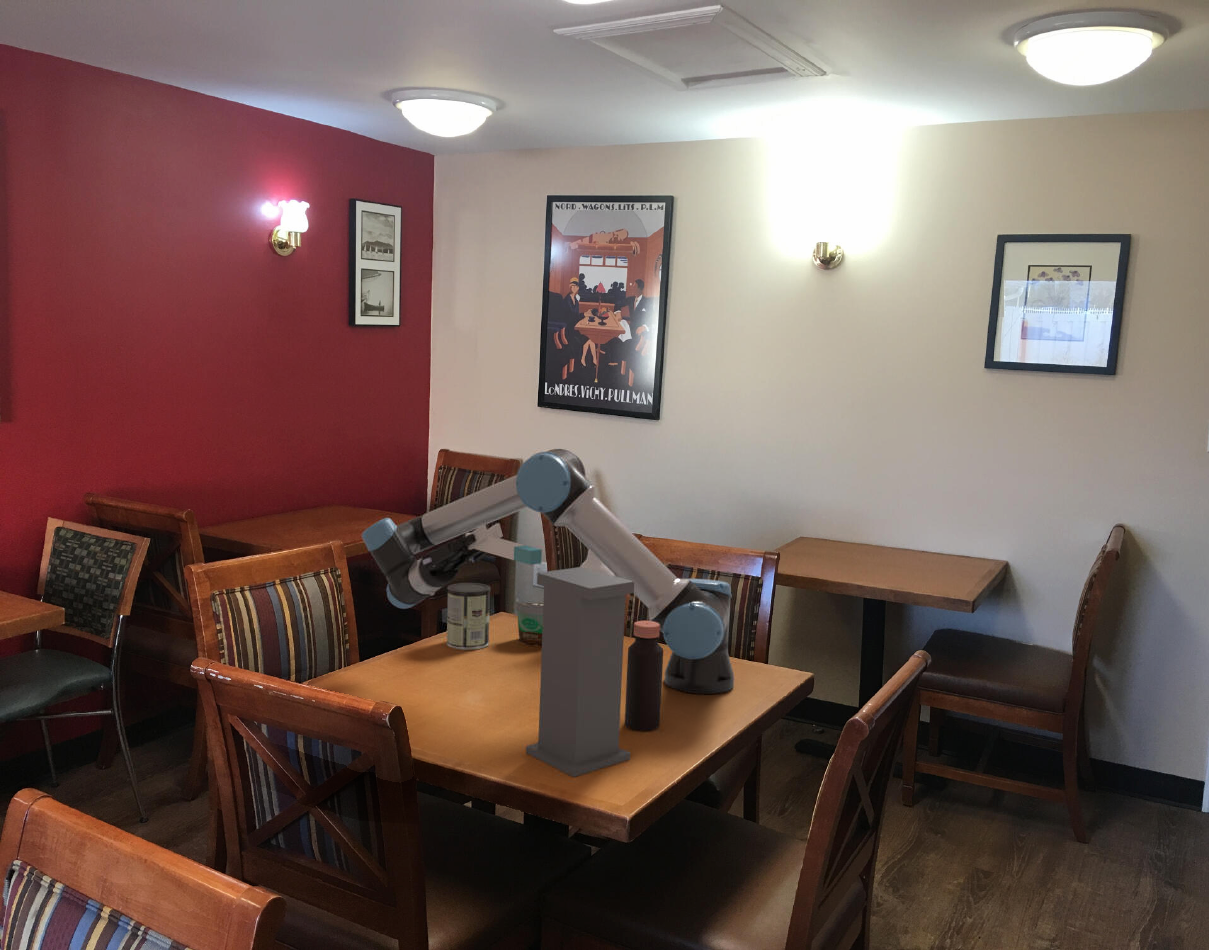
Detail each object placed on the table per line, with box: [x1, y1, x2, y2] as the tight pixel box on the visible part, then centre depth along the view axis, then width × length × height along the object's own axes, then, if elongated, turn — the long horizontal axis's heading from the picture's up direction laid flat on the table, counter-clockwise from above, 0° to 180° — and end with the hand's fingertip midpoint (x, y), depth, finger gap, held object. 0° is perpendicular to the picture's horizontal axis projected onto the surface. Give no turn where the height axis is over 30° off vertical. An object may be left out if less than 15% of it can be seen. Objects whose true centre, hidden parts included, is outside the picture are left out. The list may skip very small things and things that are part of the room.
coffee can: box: [446, 582, 491, 651], centre depth 242 cm, size 10×10×14 cm
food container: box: [514, 598, 544, 646], centre depth 245 cm, size 12×6×10 cm, turn 80°
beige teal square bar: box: [464, 532, 543, 566], centre depth 192 cm, size 21×3×3 cm, turn 42°
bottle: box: [624, 620, 664, 732], centre depth 192 cm, size 7×7×20 cm
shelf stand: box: [525, 566, 634, 778], centre depth 175 cm, size 14×13×32 cm
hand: (492, 530), depth 194 cm, fingers closed on beige teal square bar, 3 cm apart
